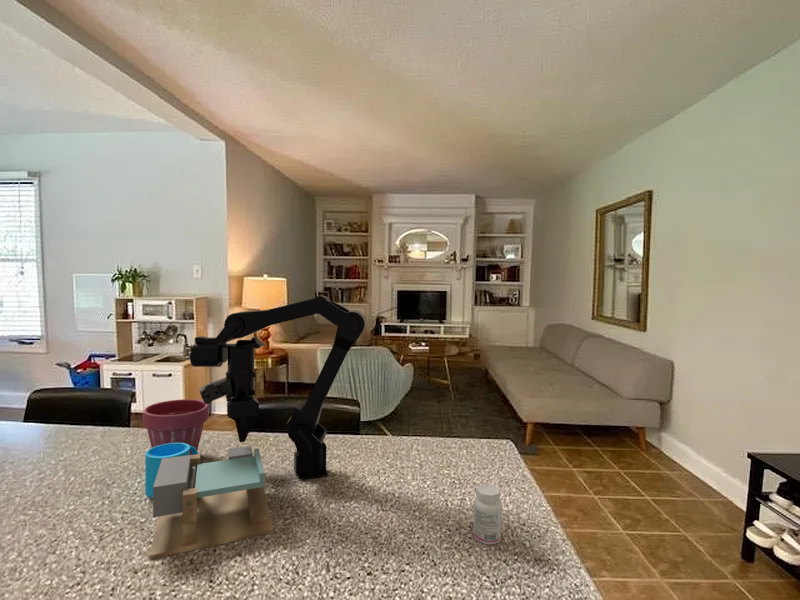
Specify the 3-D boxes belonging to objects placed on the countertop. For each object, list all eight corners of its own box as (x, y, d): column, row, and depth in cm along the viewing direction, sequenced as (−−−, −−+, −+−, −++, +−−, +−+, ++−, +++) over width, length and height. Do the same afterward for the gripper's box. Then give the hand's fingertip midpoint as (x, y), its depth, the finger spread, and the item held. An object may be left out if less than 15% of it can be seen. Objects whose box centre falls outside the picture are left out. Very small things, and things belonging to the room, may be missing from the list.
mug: (167, 501, 82) (167, 460, 82) (135, 494, 85) (135, 454, 84) (211, 475, 94) (211, 439, 93) (182, 469, 96) (183, 434, 96)
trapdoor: (258, 470, 85) (258, 446, 85) (264, 497, 74) (264, 470, 74) (162, 484, 78) (161, 458, 78) (153, 517, 67) (153, 487, 67)
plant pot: (219, 455, 104) (220, 404, 104) (163, 476, 93) (163, 419, 92) (187, 442, 112) (187, 395, 112) (131, 460, 100) (131, 408, 100)
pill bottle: (481, 525, 76) (482, 480, 75) (505, 536, 73) (507, 488, 72) (468, 537, 72) (469, 489, 72) (493, 549, 69) (494, 499, 69)
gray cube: (251, 466, 99) (251, 445, 98) (252, 475, 94) (252, 453, 94) (228, 469, 97) (228, 448, 96) (228, 479, 92) (228, 456, 92)
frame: (262, 486, 89) (262, 444, 88) (273, 532, 72) (273, 481, 72) (163, 503, 81) (163, 457, 81) (149, 559, 65) (149, 502, 64)
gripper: (203, 362, 100) (203, 426, 100) (200, 378, 83) (200, 455, 83) (252, 359, 104) (252, 421, 105) (259, 374, 87) (259, 447, 88)
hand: (241, 434), depth 95 cm, fingers open, 9 cm apart
